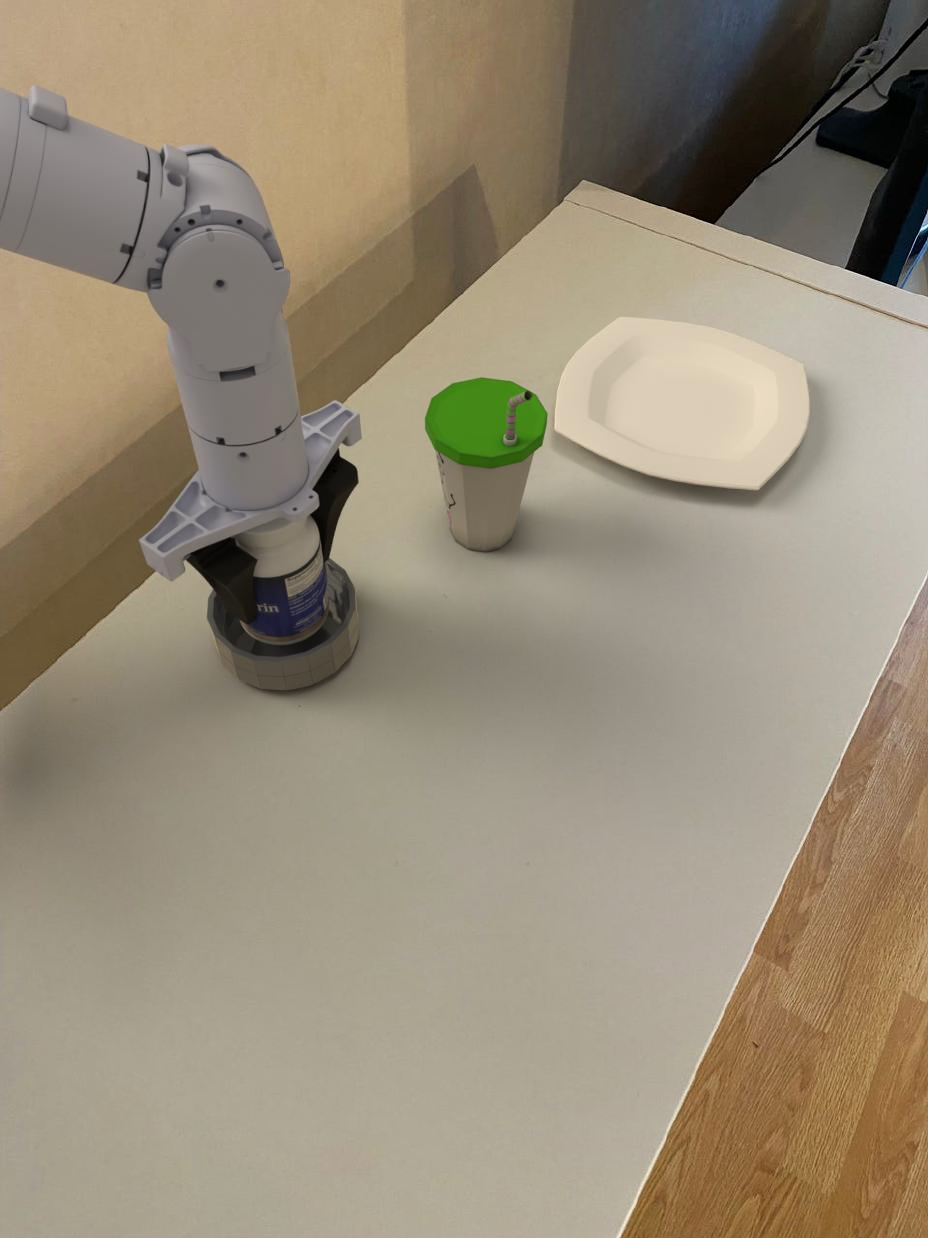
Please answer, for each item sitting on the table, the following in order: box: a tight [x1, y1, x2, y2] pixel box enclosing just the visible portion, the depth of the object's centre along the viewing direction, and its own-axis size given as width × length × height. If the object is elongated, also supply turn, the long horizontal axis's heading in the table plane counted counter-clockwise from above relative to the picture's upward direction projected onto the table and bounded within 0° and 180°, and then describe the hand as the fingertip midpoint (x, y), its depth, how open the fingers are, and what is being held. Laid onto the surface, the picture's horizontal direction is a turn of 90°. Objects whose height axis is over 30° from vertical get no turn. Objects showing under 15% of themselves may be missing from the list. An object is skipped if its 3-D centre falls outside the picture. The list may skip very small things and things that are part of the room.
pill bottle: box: [231, 515, 329, 645], centre depth 60 cm, size 6×6×10 cm
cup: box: [424, 376, 549, 553], centre depth 67 cm, size 8×8×15 cm
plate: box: [553, 316, 811, 491], centre depth 80 cm, size 19×19×2 cm
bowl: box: [206, 557, 360, 691], centre depth 65 cm, size 9×9×4 cm
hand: (277, 583), depth 62 cm, fingers closed on pill bottle, 5 cm apart
